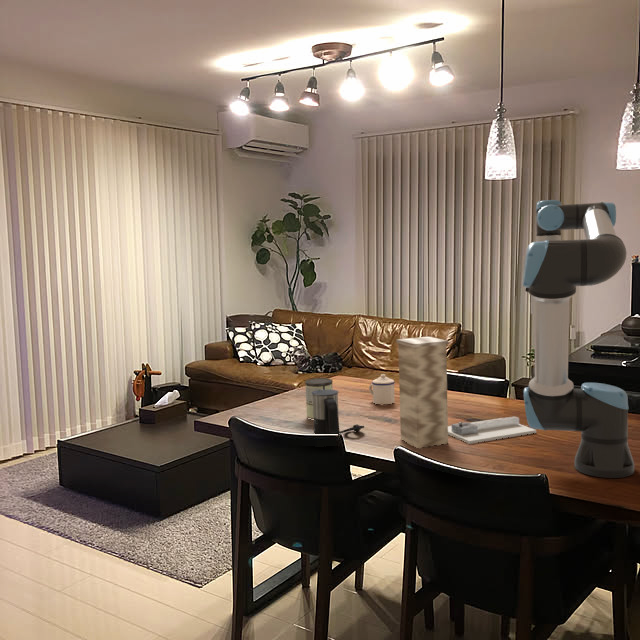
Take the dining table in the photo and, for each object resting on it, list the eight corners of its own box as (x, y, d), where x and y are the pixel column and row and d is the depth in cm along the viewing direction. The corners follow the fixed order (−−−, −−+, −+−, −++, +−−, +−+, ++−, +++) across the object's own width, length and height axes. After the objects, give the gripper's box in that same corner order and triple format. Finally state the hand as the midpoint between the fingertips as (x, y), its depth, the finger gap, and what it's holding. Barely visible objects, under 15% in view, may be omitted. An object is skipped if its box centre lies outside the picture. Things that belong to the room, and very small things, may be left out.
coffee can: (309, 414, 257) (307, 377, 256) (335, 414, 255) (334, 377, 254) (304, 421, 247) (302, 383, 245) (331, 421, 245) (330, 383, 244)
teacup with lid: (399, 402, 270) (399, 374, 269) (385, 406, 264) (384, 377, 263) (377, 398, 279) (376, 370, 277) (362, 402, 272) (361, 374, 271)
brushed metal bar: (461, 435, 217) (461, 424, 217) (451, 431, 223) (451, 420, 222) (522, 426, 226) (522, 415, 225) (511, 421, 231) (511, 411, 231)
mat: (469, 444, 211) (468, 441, 211) (438, 430, 228) (438, 427, 228) (536, 433, 221) (536, 430, 220) (502, 420, 237) (502, 417, 237)
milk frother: (307, 434, 230) (306, 391, 228) (344, 425, 239) (343, 384, 237) (331, 443, 218) (330, 398, 217) (369, 434, 227) (368, 391, 225)
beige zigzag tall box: (416, 449, 208) (414, 344, 204) (398, 439, 219) (396, 339, 215) (450, 443, 212) (448, 340, 209) (430, 434, 223) (428, 336, 220)
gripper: (586, 248, 204) (586, 317, 207) (532, 249, 227) (532, 311, 230) (566, 249, 202) (566, 319, 204) (514, 250, 225) (514, 313, 227)
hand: (548, 315), depth 217 cm, fingers open, 13 cm apart
